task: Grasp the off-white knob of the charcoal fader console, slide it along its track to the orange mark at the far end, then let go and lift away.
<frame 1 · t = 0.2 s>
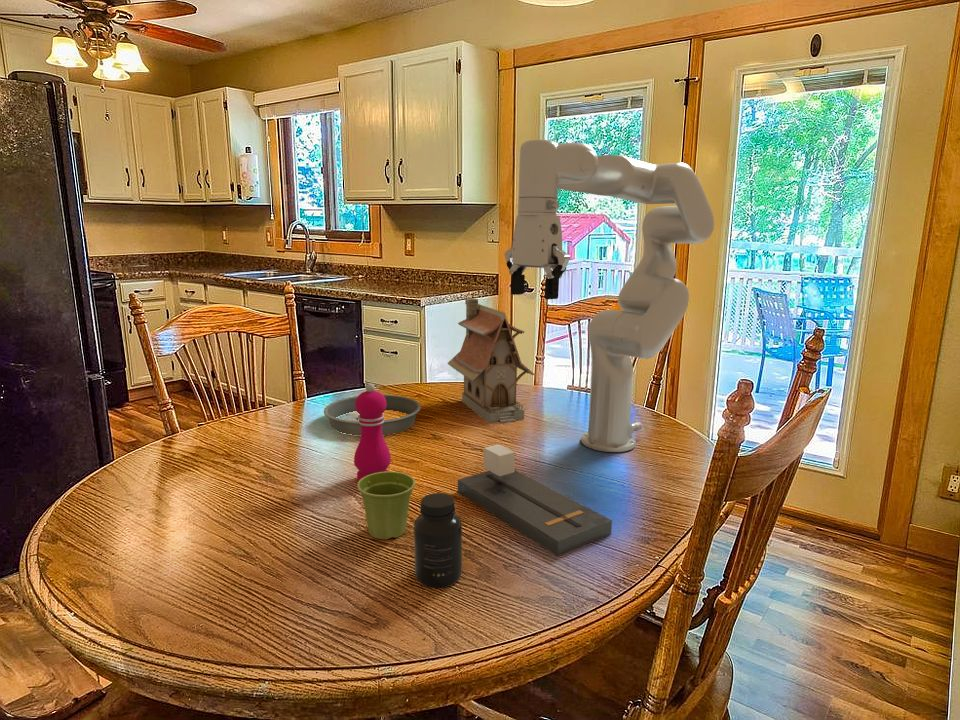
hand: (533, 296, 119), 36 cm above the table, tool pointing down, fingers open, 9 cm apart
cake pan: (373, 424, 155), on the table
miniature house: (490, 410, 167), on the table
fader console: (528, 511, 107), on the table
pepper mill: (373, 481, 119), on the table
supplement bottle: (438, 577, 87), on the table
plant pot: (387, 532, 100), on the table
fader knob: (498, 463, 113), point 6 cm above the table, slide at -9.0 cm
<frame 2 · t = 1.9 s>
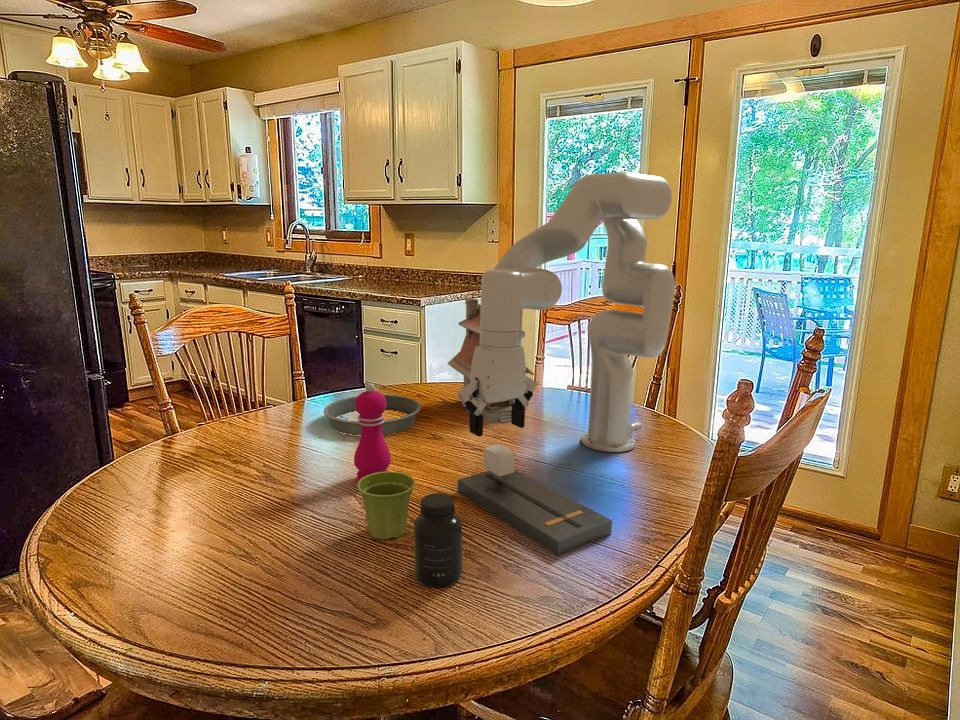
hand: (497, 430, 111), 13 cm above the table, tool pointing down, fingers open, 9 cm apart
nothing on the table moved.
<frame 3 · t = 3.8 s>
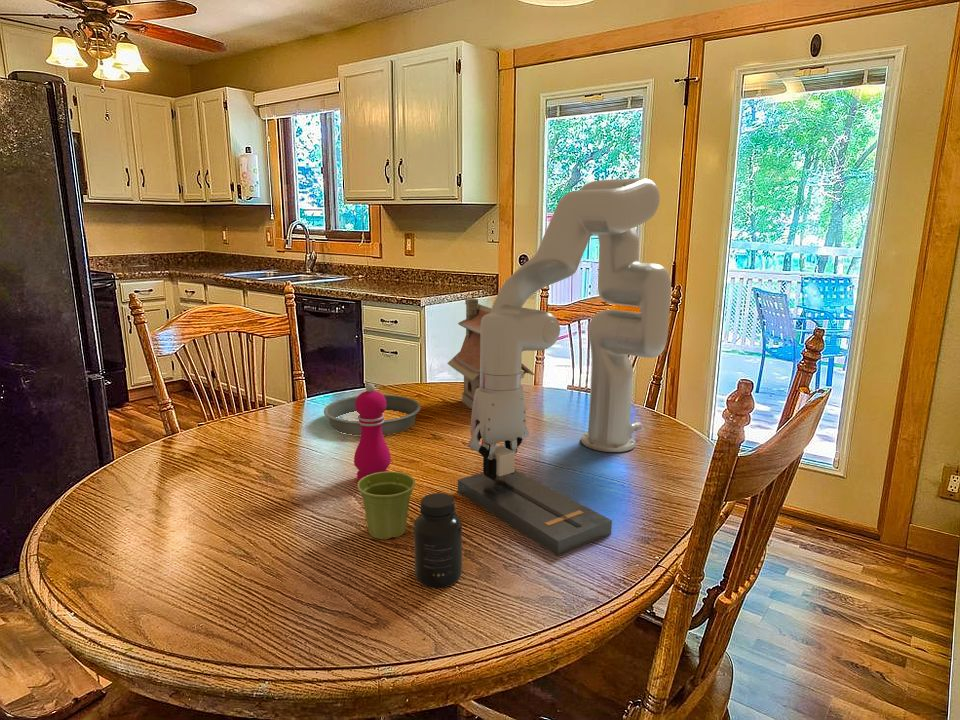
hand: (498, 473, 113), 4 cm above the table, tool pointing down, fingers closed on fader knob, 3 cm apart
fader knob: (498, 463, 113), point 6 cm above the table, slide at -9.0 cm, touching gripper
everything else where it was.
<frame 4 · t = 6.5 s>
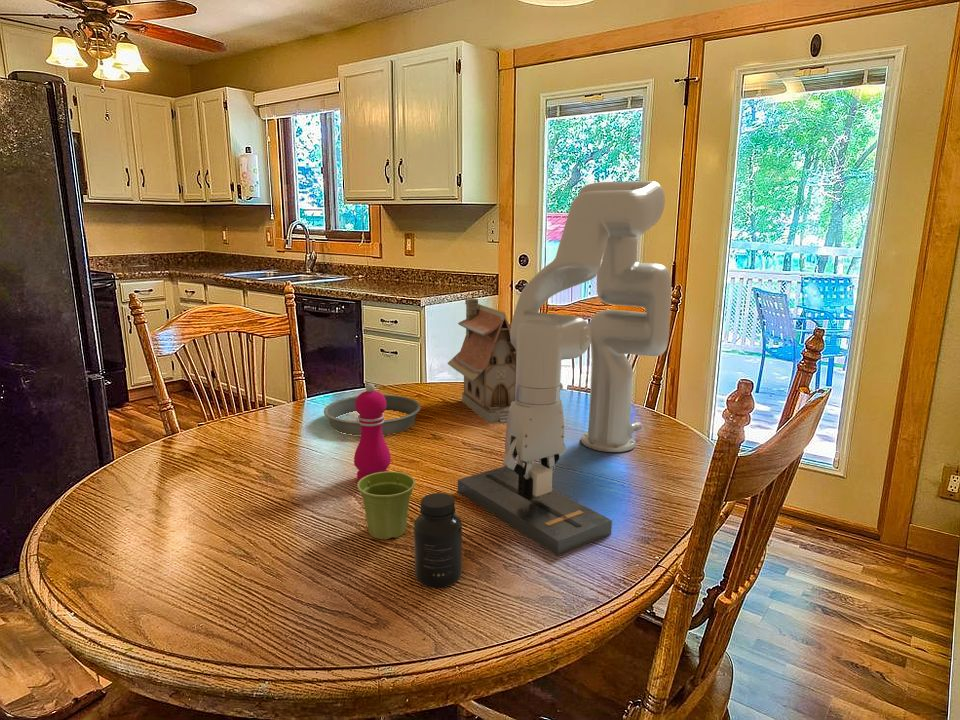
hand: (534, 493, 105), 4 cm above the table, tool pointing down, fingers closed on fader knob, 3 cm apart
fader knob: (534, 482, 105), point 6 cm above the table, slide at 1.3 cm, touching gripper
everything else where it was.
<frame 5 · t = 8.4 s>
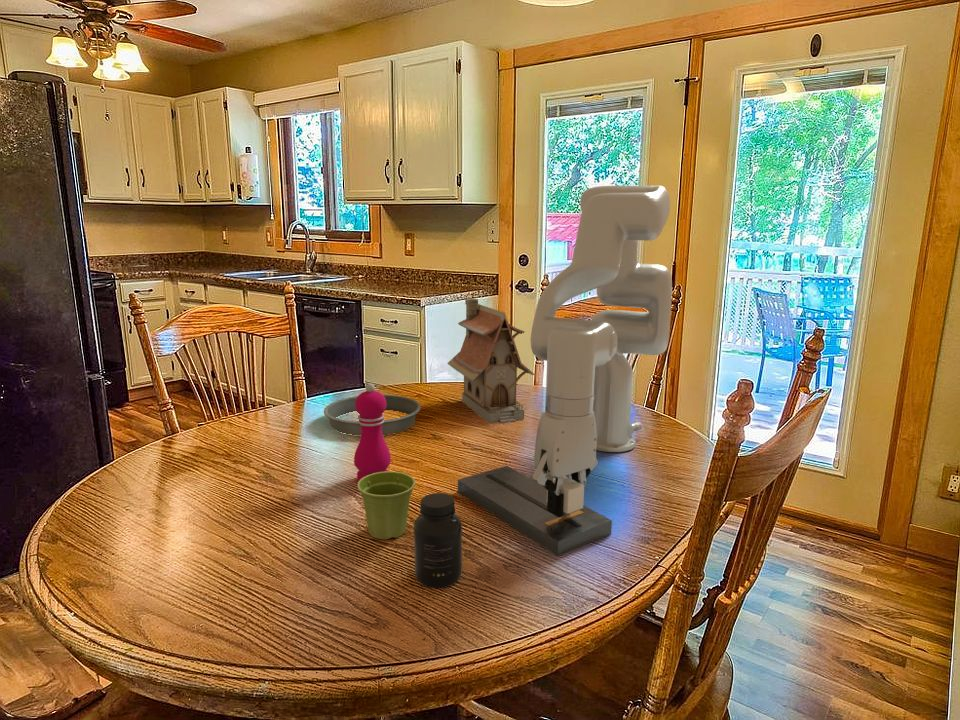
hand: (564, 509, 99), 4 cm above the table, tool pointing down, fingers closed on fader knob, 3 cm apart
fader knob: (564, 498, 99), point 6 cm above the table, slide at 8.9 cm, touching gripper
everything else where it was.
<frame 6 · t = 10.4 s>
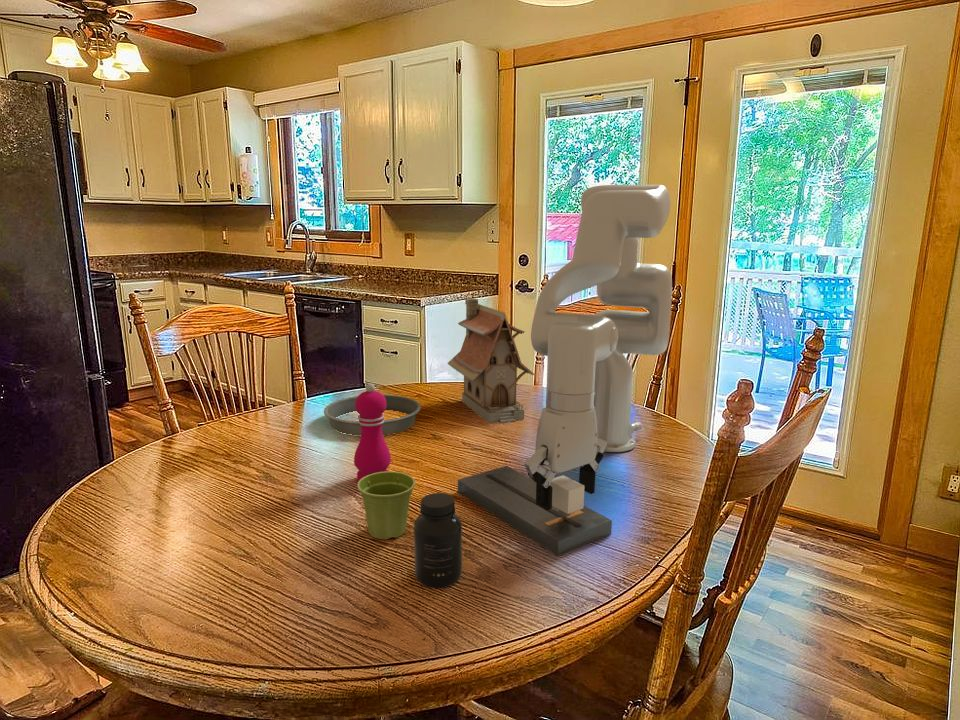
hand: (565, 498, 99), 6 cm above the table, tool pointing down, fingers open, 9 cm apart
fader knob: (565, 498, 99), point 6 cm above the table, slide at 9.0 cm
everything else where it was.
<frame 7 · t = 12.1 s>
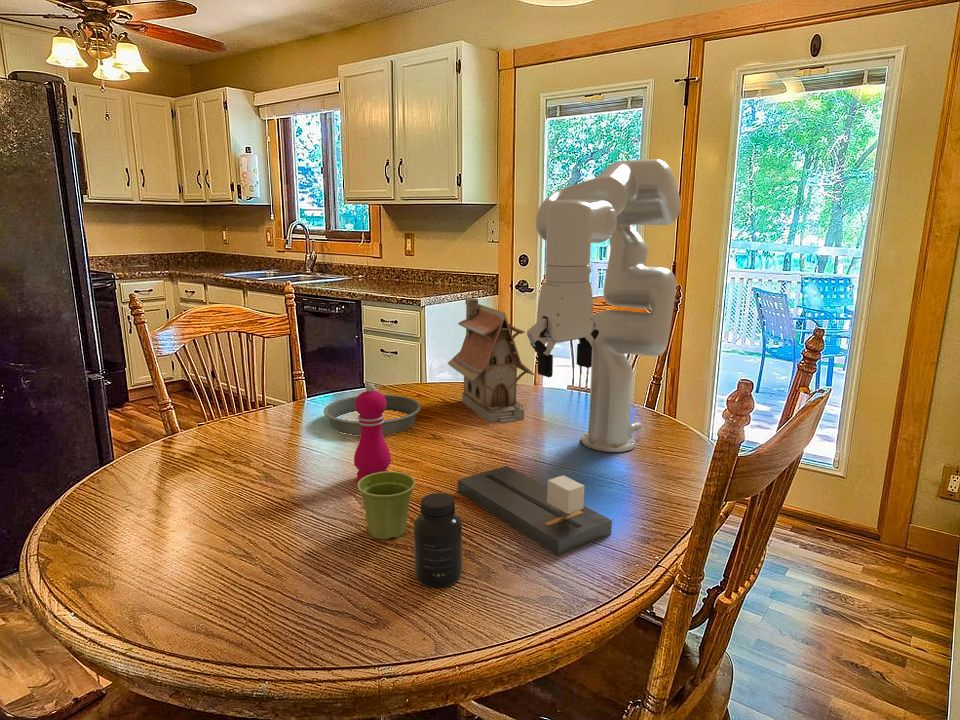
hand: (564, 370, 107), 25 cm above the table, tool pointing down, fingers open, 9 cm apart
nothing on the table moved.
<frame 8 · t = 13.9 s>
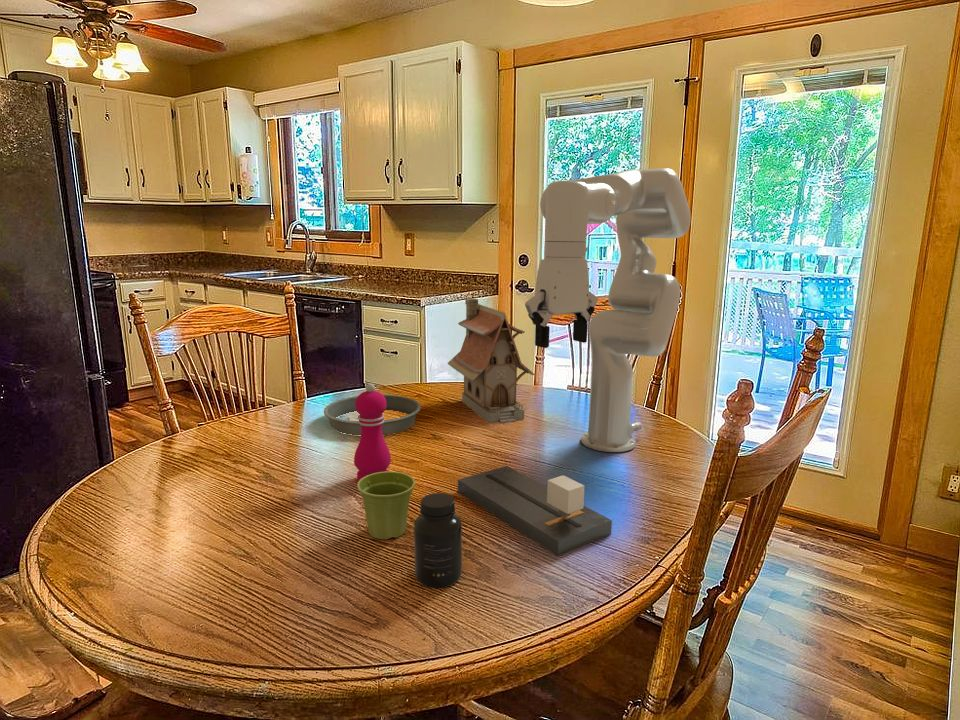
hand: (561, 344, 112), 28 cm above the table, tool pointing down, fingers open, 9 cm apart
nothing on the table moved.
at the end: fader knob slide at 9.0 cm; the gripper is holding nothing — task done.
